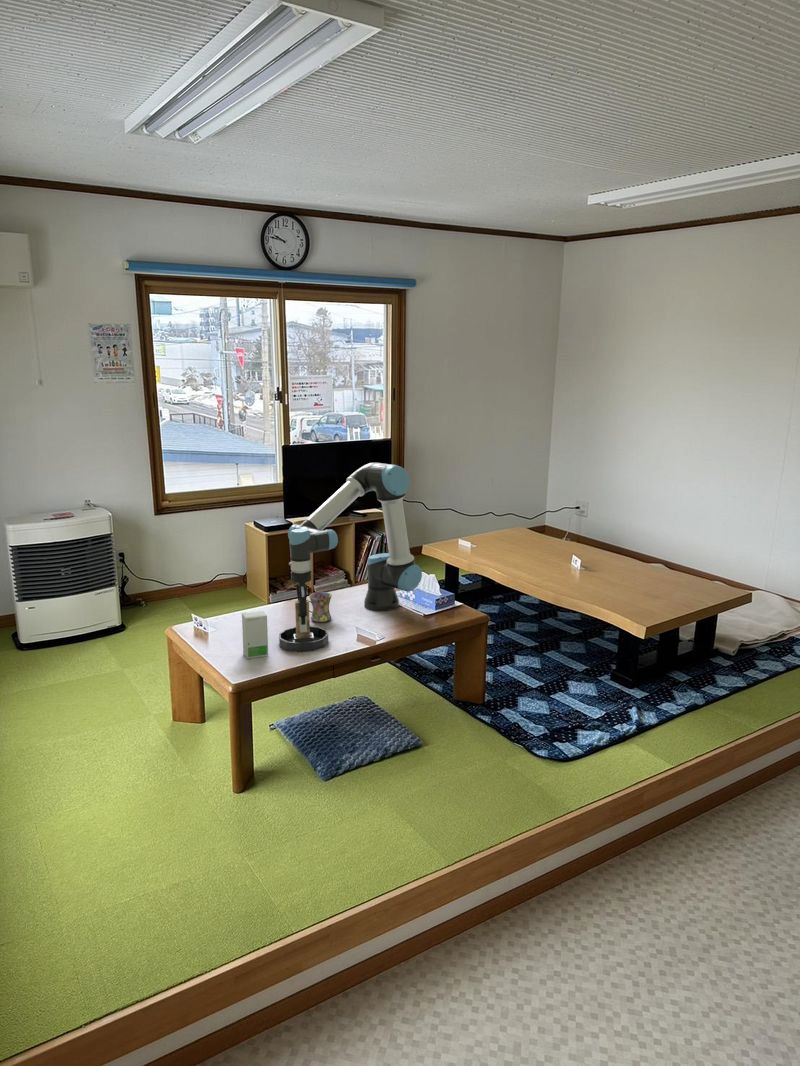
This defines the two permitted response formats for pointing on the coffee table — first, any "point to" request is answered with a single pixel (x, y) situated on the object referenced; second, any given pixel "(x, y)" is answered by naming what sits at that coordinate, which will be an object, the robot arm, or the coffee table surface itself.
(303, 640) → the wick clip
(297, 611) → the brown cardboard box
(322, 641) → the dark grey round tray
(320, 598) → the mug
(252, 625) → the skincare box
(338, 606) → the coffee table surface
